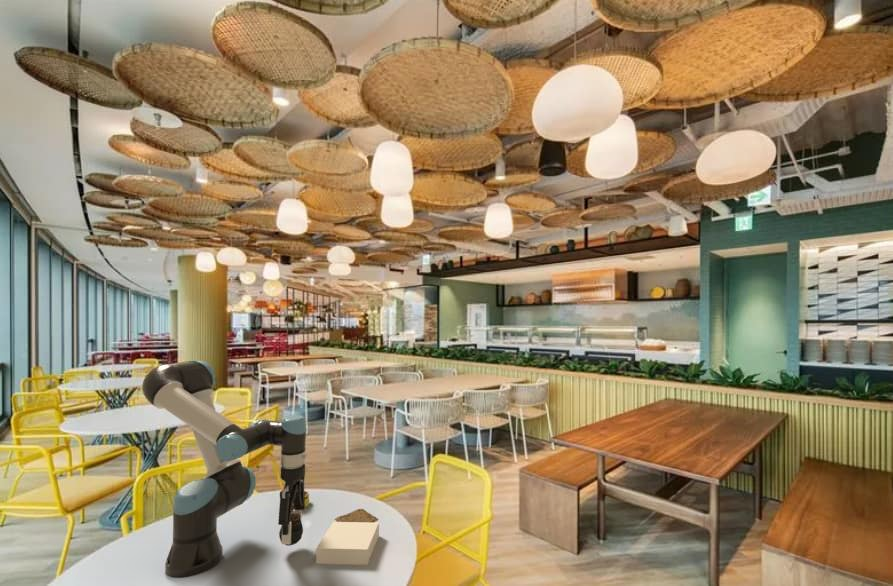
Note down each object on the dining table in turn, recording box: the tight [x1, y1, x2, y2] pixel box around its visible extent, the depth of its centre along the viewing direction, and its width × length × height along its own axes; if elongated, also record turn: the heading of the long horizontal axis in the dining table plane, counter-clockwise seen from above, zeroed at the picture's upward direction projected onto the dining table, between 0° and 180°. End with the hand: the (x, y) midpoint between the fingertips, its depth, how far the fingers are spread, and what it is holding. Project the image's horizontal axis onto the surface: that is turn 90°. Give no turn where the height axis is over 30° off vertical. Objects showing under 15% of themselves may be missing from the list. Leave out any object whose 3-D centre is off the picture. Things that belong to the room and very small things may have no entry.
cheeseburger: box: [281, 487, 310, 511], centre depth 164 cm, size 10×11×10 cm
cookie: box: [334, 508, 379, 523], centre depth 153 cm, size 12×12×1 cm
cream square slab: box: [315, 521, 380, 566], centre depth 134 cm, size 16×16×5 cm
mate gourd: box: [278, 512, 304, 547], centre depth 133 cm, size 7×8×10 cm
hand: (291, 536), depth 133 cm, fingers closed on mate gourd, 7 cm apart
